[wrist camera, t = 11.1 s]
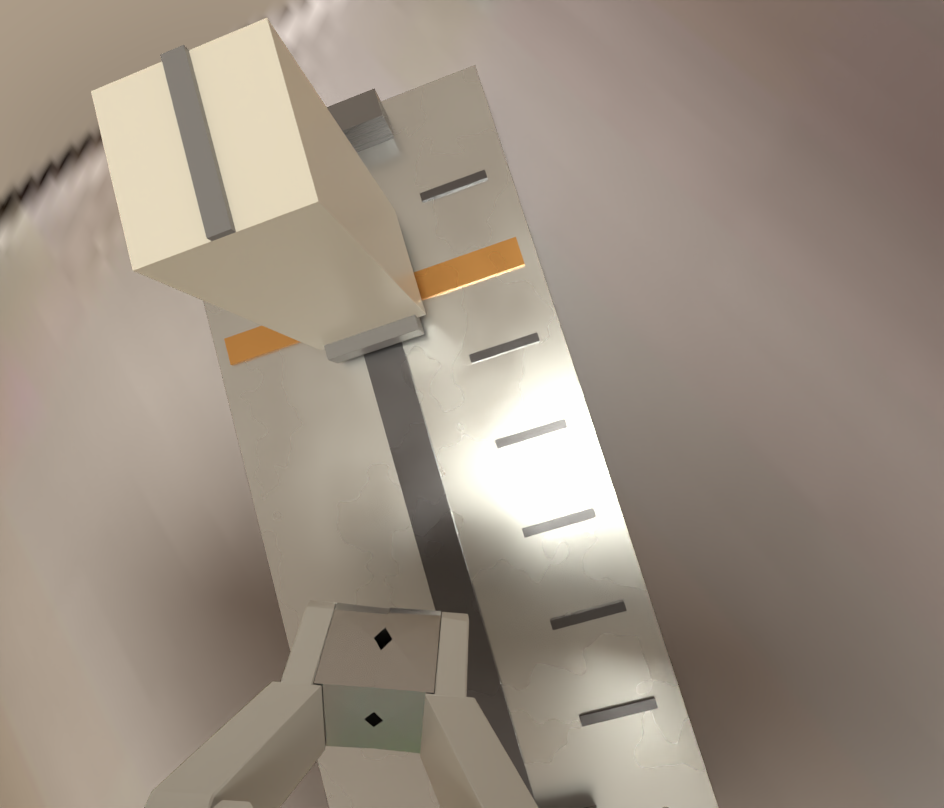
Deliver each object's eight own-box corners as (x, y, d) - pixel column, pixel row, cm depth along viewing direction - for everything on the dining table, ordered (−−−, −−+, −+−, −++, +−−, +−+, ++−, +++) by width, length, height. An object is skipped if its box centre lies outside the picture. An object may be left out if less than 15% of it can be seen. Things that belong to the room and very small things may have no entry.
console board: (200, 200, 23) (147, 163, 20) (480, 93, 22) (469, 36, 19) (370, 874, 20) (338, 948, 17) (711, 798, 18) (741, 865, 15)
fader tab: (294, 238, 20) (79, 64, 11) (394, 201, 20) (256, -12, 11) (329, 366, 19) (132, 293, 10) (433, 331, 19) (322, 223, 10)
